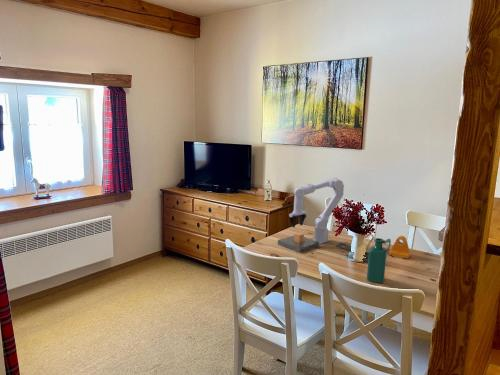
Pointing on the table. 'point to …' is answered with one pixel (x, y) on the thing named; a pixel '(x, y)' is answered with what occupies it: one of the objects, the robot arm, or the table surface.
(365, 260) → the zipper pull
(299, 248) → the collar
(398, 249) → the orange handbag
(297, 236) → the tan square post
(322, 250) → the table surface
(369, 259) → the pitcher
